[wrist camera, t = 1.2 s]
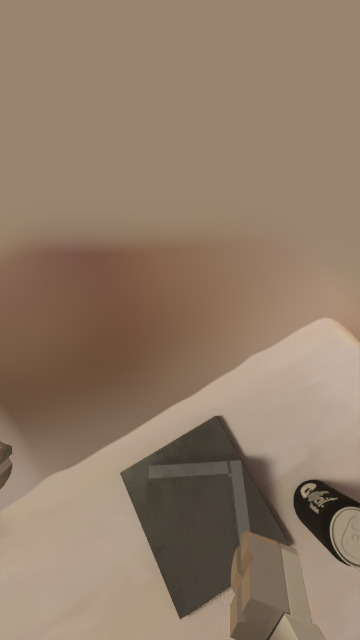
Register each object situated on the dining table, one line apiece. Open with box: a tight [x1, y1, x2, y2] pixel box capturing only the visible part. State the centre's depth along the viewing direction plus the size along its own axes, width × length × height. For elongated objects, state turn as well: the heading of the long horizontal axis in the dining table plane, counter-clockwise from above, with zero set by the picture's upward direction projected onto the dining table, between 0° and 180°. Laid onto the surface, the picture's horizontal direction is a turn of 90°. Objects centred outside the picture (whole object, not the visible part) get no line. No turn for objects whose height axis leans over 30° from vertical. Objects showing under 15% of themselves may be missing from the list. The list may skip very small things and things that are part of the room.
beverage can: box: [294, 480, 360, 569], centre depth 35 cm, size 7×7×12 cm
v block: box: [120, 416, 289, 619], centre depth 39 cm, size 18×20×5 cm
